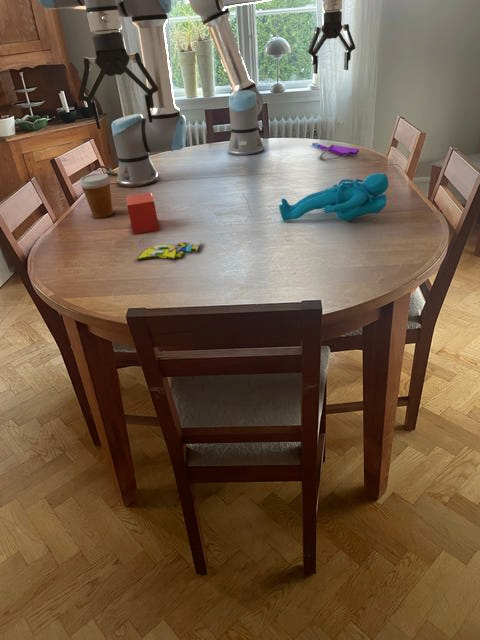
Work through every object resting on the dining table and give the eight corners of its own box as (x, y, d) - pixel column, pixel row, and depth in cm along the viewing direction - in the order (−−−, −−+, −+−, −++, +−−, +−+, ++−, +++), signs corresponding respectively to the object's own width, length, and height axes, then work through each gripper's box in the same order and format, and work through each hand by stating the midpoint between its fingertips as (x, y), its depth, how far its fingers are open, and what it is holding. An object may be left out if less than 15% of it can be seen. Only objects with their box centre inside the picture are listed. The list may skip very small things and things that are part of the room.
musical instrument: (347, 164, 184) (366, 144, 196) (347, 159, 183) (366, 139, 195) (292, 163, 197) (312, 145, 209) (291, 158, 195) (312, 140, 208)
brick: (133, 234, 139) (127, 205, 134) (131, 224, 146) (125, 196, 141) (159, 230, 140) (154, 201, 136) (156, 220, 147) (151, 192, 143)
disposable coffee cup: (82, 218, 153) (72, 181, 147) (99, 208, 161) (91, 172, 154) (106, 220, 150) (97, 182, 143) (123, 210, 157) (115, 173, 151)
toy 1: (193, 256, 121) (136, 257, 123) (194, 259, 121) (137, 260, 123) (201, 240, 129) (147, 241, 131) (201, 243, 130) (148, 244, 132)
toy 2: (282, 188, 144) (385, 161, 134) (291, 220, 149) (391, 197, 139) (274, 208, 131) (387, 180, 120) (284, 243, 136) (394, 219, 125)
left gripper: (52, 37, 111) (76, 133, 123) (159, 27, 115) (173, 121, 127) (55, 37, 117) (77, 128, 129) (156, 27, 121) (169, 116, 133)
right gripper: (305, 14, 183) (305, 75, 195) (365, 8, 187) (362, 69, 199) (298, 14, 189) (299, 74, 201) (357, 8, 194) (354, 67, 205)
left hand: (125, 125), depth 128 cm, fingers open, 13 cm apart
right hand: (330, 71), depth 200 cm, fingers open, 13 cm apart
